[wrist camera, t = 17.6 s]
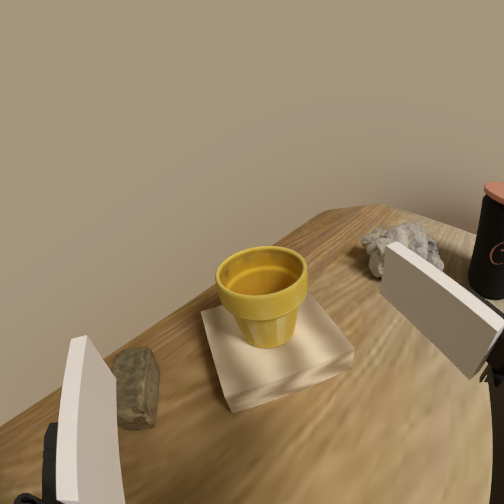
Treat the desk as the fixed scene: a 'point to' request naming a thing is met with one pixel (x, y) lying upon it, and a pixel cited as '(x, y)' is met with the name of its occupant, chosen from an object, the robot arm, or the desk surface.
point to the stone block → (136, 388)
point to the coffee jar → (489, 245)
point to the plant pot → (263, 292)
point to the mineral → (406, 236)
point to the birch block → (275, 356)
